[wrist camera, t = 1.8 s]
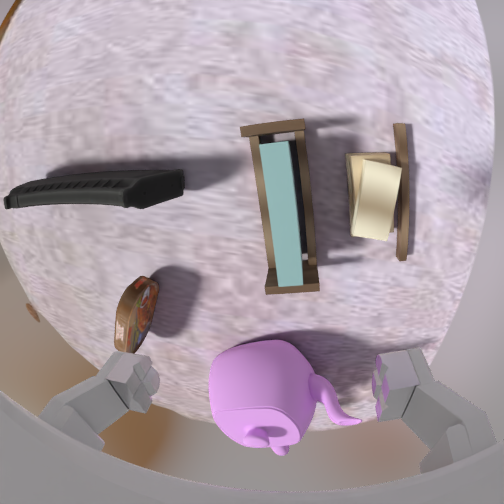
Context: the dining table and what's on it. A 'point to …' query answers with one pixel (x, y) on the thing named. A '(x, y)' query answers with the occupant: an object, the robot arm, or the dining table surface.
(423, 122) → the dining table surface
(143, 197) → the magazine
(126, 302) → the tin
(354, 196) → the offcut middle
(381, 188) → the offcut top
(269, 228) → the rack
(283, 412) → the teapot
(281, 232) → the board
